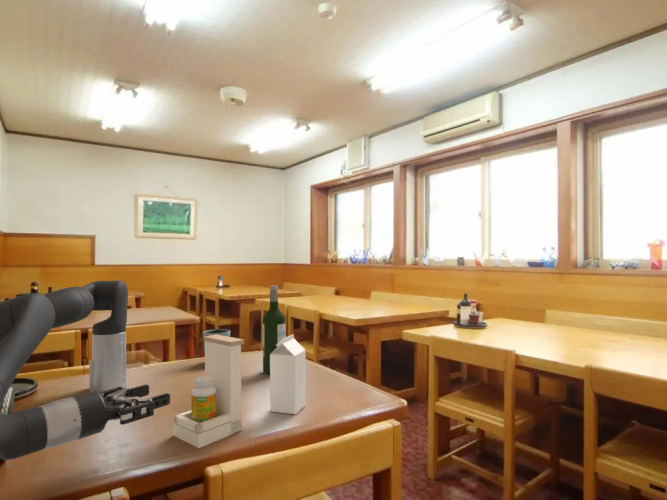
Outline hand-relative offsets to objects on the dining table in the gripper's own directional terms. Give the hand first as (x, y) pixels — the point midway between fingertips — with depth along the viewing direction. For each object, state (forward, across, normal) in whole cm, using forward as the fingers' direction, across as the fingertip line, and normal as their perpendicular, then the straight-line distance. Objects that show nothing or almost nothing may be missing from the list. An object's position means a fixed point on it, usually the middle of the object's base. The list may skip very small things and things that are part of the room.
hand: (158, 393), depth 86 cm
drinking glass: (+51, +52, +14) cm, 74 cm away
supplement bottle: (+10, 0, +9) cm, 14 cm away
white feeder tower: (+12, 0, +12) cm, 17 cm away
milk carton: (+34, -4, +13) cm, 36 cm away
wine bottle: (+55, +24, +13) cm, 62 cm away
